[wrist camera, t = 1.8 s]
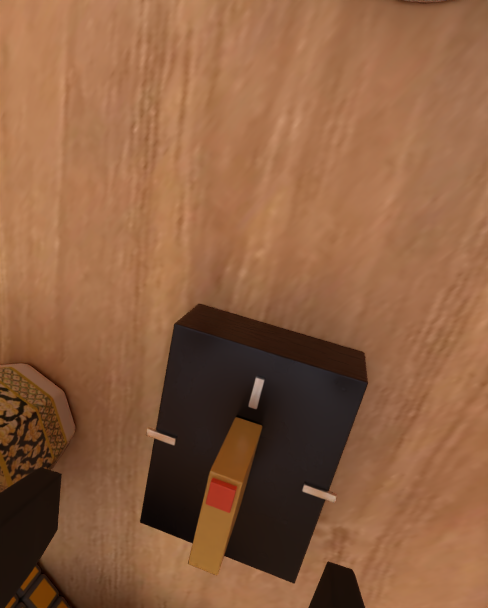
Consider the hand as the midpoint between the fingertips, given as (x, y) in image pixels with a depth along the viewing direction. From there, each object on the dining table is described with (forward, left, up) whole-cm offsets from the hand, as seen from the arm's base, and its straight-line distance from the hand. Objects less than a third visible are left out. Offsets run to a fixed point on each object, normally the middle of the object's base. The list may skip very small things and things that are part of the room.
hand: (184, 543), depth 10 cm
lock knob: (-3, 0, -7) cm, 7 cm away
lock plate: (-3, 0, -10) cm, 10 cm away
